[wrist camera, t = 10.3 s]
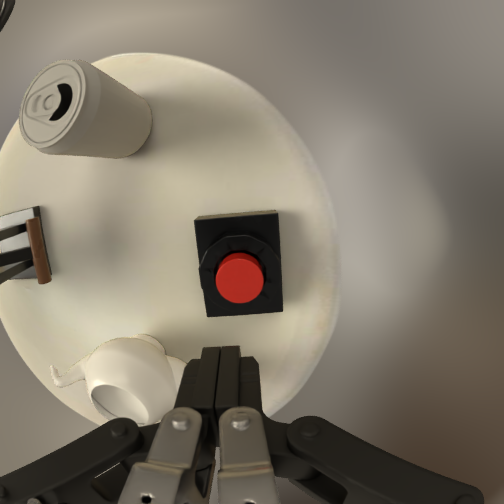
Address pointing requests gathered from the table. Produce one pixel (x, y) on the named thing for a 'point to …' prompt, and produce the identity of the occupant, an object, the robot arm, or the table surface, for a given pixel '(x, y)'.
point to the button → (239, 278)
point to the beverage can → (83, 113)
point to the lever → (30, 252)
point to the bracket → (18, 243)
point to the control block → (240, 241)
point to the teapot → (128, 378)
